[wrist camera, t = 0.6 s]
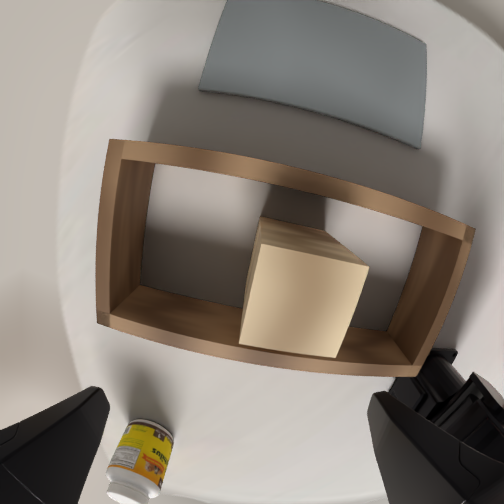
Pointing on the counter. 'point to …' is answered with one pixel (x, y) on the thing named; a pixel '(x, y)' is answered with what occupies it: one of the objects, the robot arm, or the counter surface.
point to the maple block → (299, 290)
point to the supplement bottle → (139, 463)
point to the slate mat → (321, 64)
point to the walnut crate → (229, 318)
